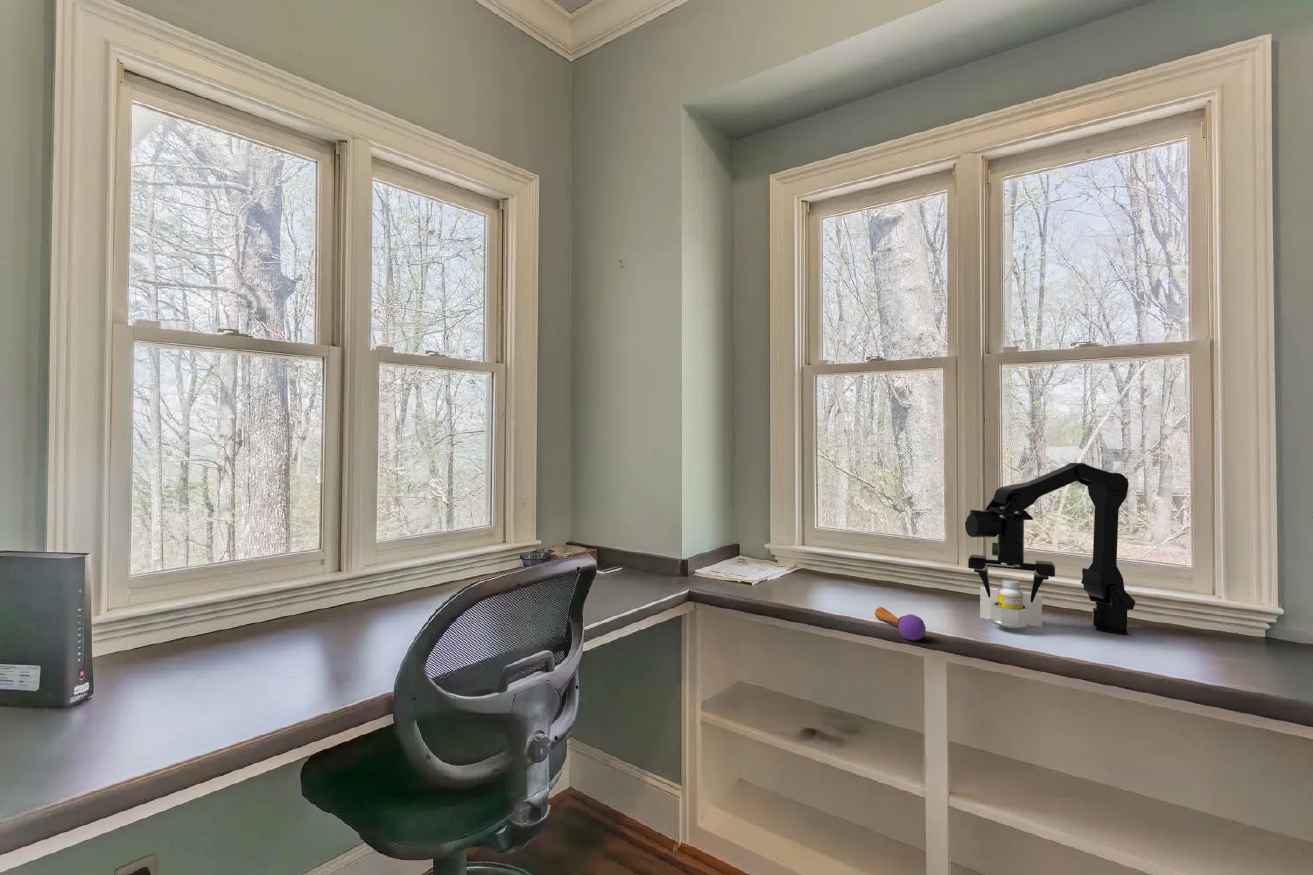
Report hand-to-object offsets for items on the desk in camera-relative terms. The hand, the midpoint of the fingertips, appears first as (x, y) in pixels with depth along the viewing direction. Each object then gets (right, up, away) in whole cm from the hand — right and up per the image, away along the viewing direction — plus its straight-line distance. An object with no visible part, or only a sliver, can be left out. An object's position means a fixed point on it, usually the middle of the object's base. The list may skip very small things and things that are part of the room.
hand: (1010, 599), depth 156 cm
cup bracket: (+1, -6, +1) cm, 6 cm away
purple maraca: (-29, -8, -2) cm, 30 cm away
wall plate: (+4, -8, +7) cm, 11 cm away
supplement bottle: (0, -5, 0) cm, 5 cm away
